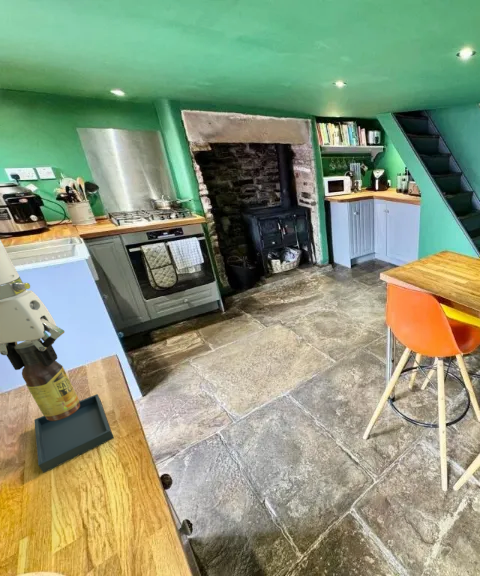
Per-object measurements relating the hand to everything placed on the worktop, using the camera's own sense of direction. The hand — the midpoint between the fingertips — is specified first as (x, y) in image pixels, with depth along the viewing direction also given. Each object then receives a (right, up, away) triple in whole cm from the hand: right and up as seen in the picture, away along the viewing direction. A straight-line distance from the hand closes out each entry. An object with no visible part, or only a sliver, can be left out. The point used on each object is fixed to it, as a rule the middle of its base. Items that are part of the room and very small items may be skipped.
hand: (37, 363), depth 67 cm
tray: (-1, -20, +9) cm, 22 cm away
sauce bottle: (0, -14, +6) cm, 15 cm away
